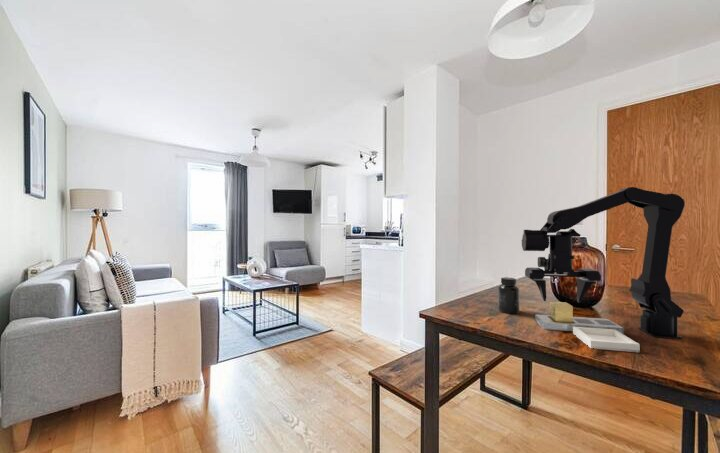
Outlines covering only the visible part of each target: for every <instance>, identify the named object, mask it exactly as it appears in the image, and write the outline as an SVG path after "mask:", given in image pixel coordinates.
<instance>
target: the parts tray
mask: <svg viewBox="0 0 720 453" xmlns="http://www.w3.org/2000/svg"><path fill="white" fill-rule="evenodd" d="M572 334H573V335H574V336H575V335H576V336H575V337H577V338H578V339H579V340H580V341H581V342H583V343H584V344H585V345H586V346H587V345H588V346H587V347H588V348H590V349H593V348H594V349H595V350H605V351H617V352H618V351H619V352H631V353H639V354H640V352H641V351H640V350H641V349H640V347H641V346H640V343H639V342H636V341H635V340H634V339H631V338H630V337H628V336H627V335H625V334H624V335H623V334H622V333H620V332H618V331H617V330H615V329H600V328H586V327H573V331H572Z"/></svg>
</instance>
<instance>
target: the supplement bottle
mask: <svg viewBox="0 0 720 453" xmlns="http://www.w3.org/2000/svg"><path fill="white" fill-rule="evenodd" d="M497 292H498V294H497V299H498V300H497V304H498V306H497V307H498V311H500V312H501V313H505V314H519V312H520V288H519V287H518V286H517V278H514V277H509V276H508V277H504V276H503V277H501V280H500V285H499V286H498V288H497Z"/></svg>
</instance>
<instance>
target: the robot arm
mask: <svg viewBox="0 0 720 453" xmlns="http://www.w3.org/2000/svg"><path fill="white" fill-rule="evenodd" d="M685 202H686V201H685V199H684V198H683V197H681V195H679V194H677V193H663V192H657V191H652V190H646V189H642V188H638V187H635V186H629V187H624V188H621V189H620V190H618V191H615V192H613V193H610V194H608V195H605V196H601V197H600V198H597V199H595V200H592V201H589V202H587V203H583V204H582V205H578V206H574V207H570V208H565V209H561V210H555V211H552V212H550V213H549V214H548V216H547V219H546V222H545V224H544V225H543V226H542V227H541V228H540V229H535V230H534V229H533V230H532V229H523V233H522V238H521V247H522V250H523V251H524V252H527V251H528V252H545V251H546V249H548V248H549V253H548V256H547V258H546V257H545V256H539V257H537V267H526V268H525V269H524V276H525V277H526V278H528V279H530V280H532V281H533V282H534V283H535V284H536V286H537V288H538V291H539V293H540V296H541V298H542V301H544V302H546V301H547V284H546V283H547V282H546V280H545V279H544V278H545V277H550V278H551V277H555V278H556V277H557V278H559V277H561V278H575V279H576V280H575V281H576V283H577V287H576V289H577V290H576V302H577V303H579V304H580V303H582V300H583V299H584V297H585V295H586V293H587V292H588V291H589V289H590V288H591V286H592V285H594V284H595V285H596V284H597V282H601V281H602V274H601V272H600V271H599V270H596V269H592V268H577V270H575V269H574V268H573V260H574V259H575V255H573V237H574V238H576V237H579V238H580V237H581V233H578V231H576V230H575V229H574V228H573V227H575V226H576V225H578V224H580V223H582V222H583V221H584V220H585V219H587V218H589V217H591V216H594V215H597V214H601V213H603V212H606V211H608V210H610V209H613V208H616V207H619V206H621V205H624V204H626V203H628V204H630V205H631V206H634V207H636V208H640V209H643V217H644V219H645V221H646V224H647V232H646V240H645V249H644V255H643V262H642V271H641V274H640V275H639V277H638V278H633V277H632V278H631V279H630V288H629V289H628V292H629V293H630V292H631V293H630V294H631V297H632V299H634V301H636V302H637V304H638V306H639V307H640V308H641V309H642V313H641V315H640V327H638V329H639V330H640V331H642V332H644V333H646V334H647V335H650V336H652V337H655V338H663V339H665V338H666V339H678V340H679V339H681V340H683V337H682V336H681V335H679V334H678V318H682V316H683V314H684V309H682V307H681V306H679V305H677V303H675V302H674V301H673V300H672V291H671V288H670V285H669V283H668V280H667V279H666V276H667V269H668V262H669V254H670V248H671V247H670V245H671V239H672V233H673V227H674V225H676V223H677V222H678V221H679V219H681V216H682V214H683V212H684V209H685V205H686V203H685ZM568 229H569V230H568ZM563 230H564V231H563ZM566 230H567V231H566ZM542 268H544V269H542Z"/></svg>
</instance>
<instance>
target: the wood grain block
mask: <svg viewBox="0 0 720 453" xmlns="http://www.w3.org/2000/svg"><path fill="white" fill-rule="evenodd" d="M573 307H574V306H573V305H571V304H570V303H568V302H566V301H564V302H563V301H549V315H550V319H551V320H552V321H553V322H560V323H573V317H574V316H573V315H574V313H573V312H574V310H573Z"/></svg>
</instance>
